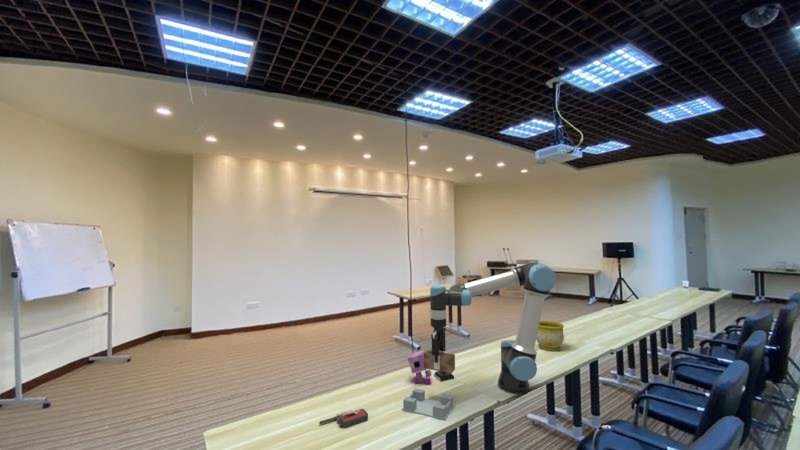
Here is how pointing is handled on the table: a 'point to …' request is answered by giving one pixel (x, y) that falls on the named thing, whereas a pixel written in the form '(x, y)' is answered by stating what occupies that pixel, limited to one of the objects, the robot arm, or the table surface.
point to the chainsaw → (349, 418)
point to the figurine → (443, 376)
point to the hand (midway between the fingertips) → (439, 366)
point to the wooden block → (445, 361)
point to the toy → (419, 366)
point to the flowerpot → (550, 335)
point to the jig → (428, 404)
